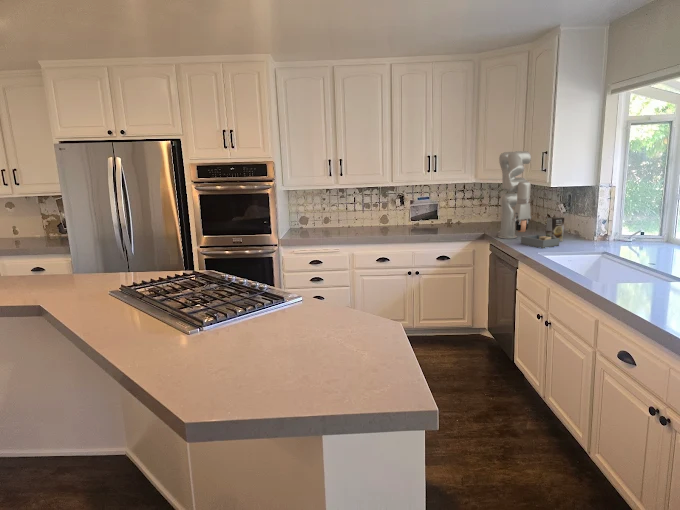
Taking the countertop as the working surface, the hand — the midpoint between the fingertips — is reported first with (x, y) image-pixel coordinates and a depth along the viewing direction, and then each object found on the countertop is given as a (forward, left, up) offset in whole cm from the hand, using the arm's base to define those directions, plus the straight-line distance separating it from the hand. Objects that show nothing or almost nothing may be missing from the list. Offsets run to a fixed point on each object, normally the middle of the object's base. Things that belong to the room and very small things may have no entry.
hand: (521, 229), depth 287 cm
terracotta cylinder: (0, 0, -1) cm, 1 cm away
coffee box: (-2, +33, -12) cm, 35 cm away
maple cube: (+6, +15, -11) cm, 19 cm away
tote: (+2, +15, -11) cm, 19 cm away
